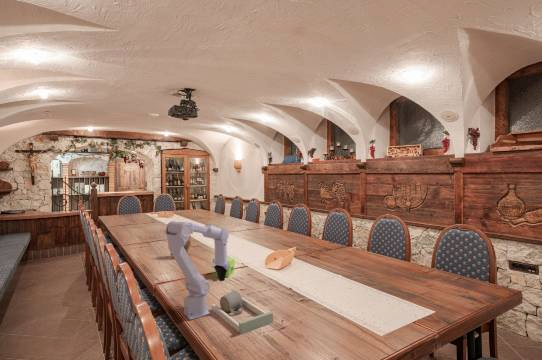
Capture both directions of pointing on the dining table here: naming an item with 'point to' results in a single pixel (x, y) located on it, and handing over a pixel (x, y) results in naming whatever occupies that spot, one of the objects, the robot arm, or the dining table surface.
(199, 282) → the robot arm
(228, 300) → the ceramic mug
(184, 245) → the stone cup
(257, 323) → the grey u-shaped frame
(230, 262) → the green rounded oblong piece
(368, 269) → the dining table surface
